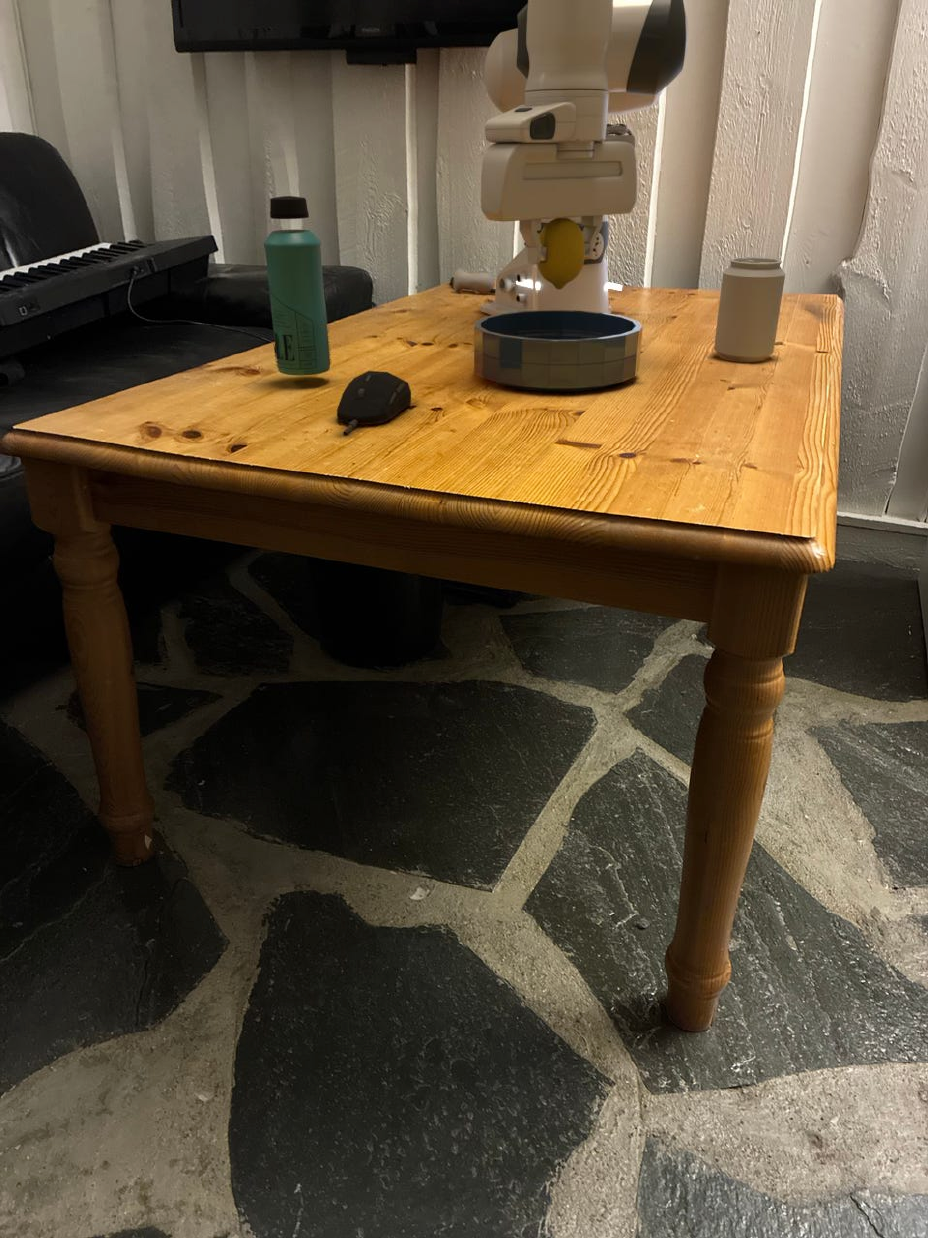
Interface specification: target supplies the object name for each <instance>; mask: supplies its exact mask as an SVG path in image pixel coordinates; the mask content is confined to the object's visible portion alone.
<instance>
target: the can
mask: <svg viewBox="0 0 928 1238" xmlns="http://www.w3.org/2000/svg"><path fill="white" fill-rule="evenodd" d="M729 263H730V265H729V266H728V267H726V269H725V270H724V271H722V280H721V287H720V294H719V295H720V296H719V302H718V303H719V304H718V312H717V313H718V314H717V319H716V320H717V321H716V328H715V329H716V330H715V335H714V336H715V338H714V346H713V350H714V351H715V352H716V353H717V355H718V356H719V358H721V359H723V360H726V361H731V362H737V363H739V362H740V363H755V362H756V363H758V362H762V361H765V360H767V358H768V357H770V356H771V355H773V354H774V352H775V346H776V339H777V333H778V326H779V319H780V314H781V313H780V312H781V306H782V299H783V292H784V286H785V279H786V272H785V271H784V269H783V267H781V264H783V261H782V260H781V259H779V258H774V257H773V258H772V257H762V256H761V257H760V256H759V257H758V256H756V257H755V256H744V257H743V256H742V257H733V258H731V259H730V260H729Z"/></svg>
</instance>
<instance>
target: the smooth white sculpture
mask: <svg viewBox="0 0 928 1238" xmlns="http://www.w3.org/2000/svg"><path fill="white" fill-rule="evenodd" d="M453 277H454V283H453V286H452V287H453V290H455V292H457V293H460V292H461V291H462V290H465V289H470V290H469V291H472V292H474V294H477V295H480V294H490V293H489V292H490V291H491V290H492V289H495V287H496V281H495V278H494V277H493V276H492V274H490V273H489V272H488V273H487V272H484V270H477V272H476V273H468V272H466V271H464V269H463V268H462V267H460V268H458V269H456V270H455V273H454V276H453Z"/></svg>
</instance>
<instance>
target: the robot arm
mask: <svg viewBox="0 0 928 1238" xmlns="http://www.w3.org/2000/svg"><path fill="white" fill-rule="evenodd" d="M516 17H517V28H513V29H508V30H506V31H501V32H499V34H497V36H496V37H495V38H494V40H493V41H492V43H491V45H490V46H489V48H488V50H487V53H486V56H485V61H484V67H483V78H484V85H485V89H486V92H487V94H488V97H489V98H490V100H491V102H492V104H493V105H494V106H495V108H497V110H498V111H499V112H501V114H499V115H496V116H493V117H492V118H490V119H488V120H487V121H485V127H484V135H485V139H486V141H487V142H488V143H490V144H491V145H488V147H487V149H486V150H485V152H484V155H483V158H482V164H481V175H480V176H481V178H480V208H481V211H482V213H483V215H484V217H485V218H486V220H488V221H493V222H505V223H506V222H519V225H518V227H519V228H518V229H519V232H520V235H521V236H522V239H523V242H524V243H523V245H524V247H523V248H522V250H520V251H519V252H518V254H516V255H515V256H514V257H513V258H512V259H511V260H510V261H509V262H508V263H507V264H506V265H505V266H504V267H503V268H502V269H500V271H499V272H498V274H497V277H496V281H495V288H493V289H492V290H491V291H490V292H489V293H488V294H494V301H489V302H486V303H482V304H481V305H480V310H479V311H480V312H482V313H484V314H487V315H489V316H491V315H495V314H501V313H508V312H517V311H532V310H575V311H591V312H600V313H609V314H612V306H611V305H610V303H609V302H610V301H609V289H611V290H615V291H622V290H623V285H622V284H618V283H613V282H609V278H608V277H609V276H608V275H609V274H608V261H607V257H606V249H607V248H608V247H609V236H610V222H609V221H608V220H607V216H612V215H626V214H627V215H628V214H629V215H630V214H632V212H633V210H634V208H635V206H636V205H637V203H638V201H637V200H638V164H637V163H638V162H637V155H636V138H635V135H633V132H632V131H631V129H630V128H628V126H627V124H625V123H615V124H611V123H608V116H609V117H610V116H613V117H614V116H623V115H628V114H633V113H637V112H640V111H644V110H648V109H651V108H652V107H653V106H654V105H655V104H656V102H657V101H659V99H660V97H661V95H662V93H663V91H664V89H665V88H666V87H668V86H669V85H671V83H673V81H674V80H676V79H677V77H678V76H679V75H680V74H681V72H682V71H683V69H684V65H685V60H686V58H687V55H688V54H687V52H688V46H689V21H688V17H687V13H686V9H685V3H684V0H527V3H526V4H525V6H524V7H523V8H522V9H520V11H519V12H518V13H517V15H516ZM556 218H568V219H570V220H572V221H574V222H575V223H576V224H577V225H578V226H579V227H580V229H581V231H582V234H583V237H584V243H585V259H584V264H583V267H582V269H581V271H580V273H579V274H578V276H577V277H576V278H575V279H574V280H572V281H570V282H569V283H567V284H566V285H565V286H564V287H563V288H562V289H560V290H558V289H556V288H555V287H554V285H553V284H552V283H550V282H549V281H547V280H546V279H545V278H544V277H543V276H542V275H541V273H540V271H539V269H538V265H537V264H541V263H546V261H547V256H546V255H547V249H548V247H546V246H542V245H541V242H540V239H539V236H540V233H541V231H542V229H543V228H544V227H545V226H546V225H547V224H548V223H549V222H550V221H552V220H554V219H556ZM453 283H454V276H452V277H451V278H450V281H449V285H451V286H452V287H453ZM464 290H465V291H471V290H470V289H464Z"/></svg>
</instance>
